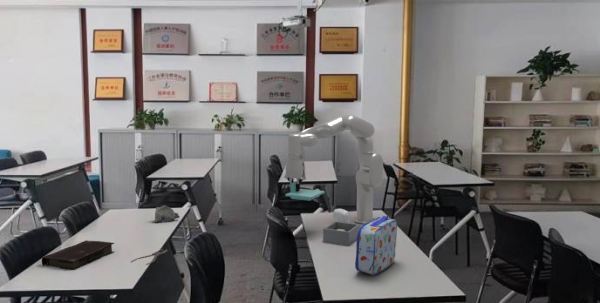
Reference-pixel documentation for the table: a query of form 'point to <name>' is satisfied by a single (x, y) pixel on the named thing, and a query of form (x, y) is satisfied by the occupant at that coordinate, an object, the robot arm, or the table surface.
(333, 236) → the tub
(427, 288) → the table surface
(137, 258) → the pliers
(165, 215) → the mineral rock
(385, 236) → the lunch box
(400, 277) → the table surface
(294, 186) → the lid
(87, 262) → the diary
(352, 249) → the table surface
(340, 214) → the photo printer
